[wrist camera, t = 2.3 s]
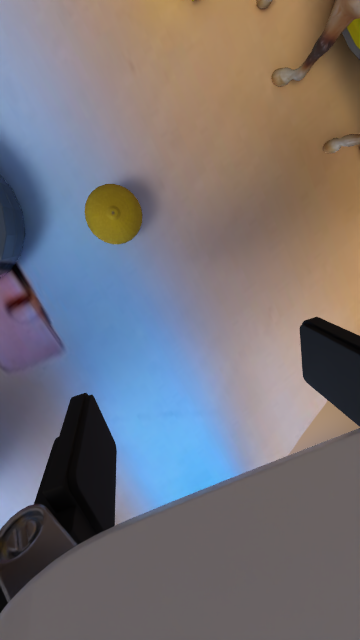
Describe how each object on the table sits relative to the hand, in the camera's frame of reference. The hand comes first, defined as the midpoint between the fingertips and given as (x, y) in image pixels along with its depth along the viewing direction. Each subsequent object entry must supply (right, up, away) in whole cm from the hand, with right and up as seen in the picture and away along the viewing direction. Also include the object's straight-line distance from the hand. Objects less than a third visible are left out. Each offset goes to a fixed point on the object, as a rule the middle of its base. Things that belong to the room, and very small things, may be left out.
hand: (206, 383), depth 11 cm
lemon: (-9, +15, +18) cm, 25 cm away
